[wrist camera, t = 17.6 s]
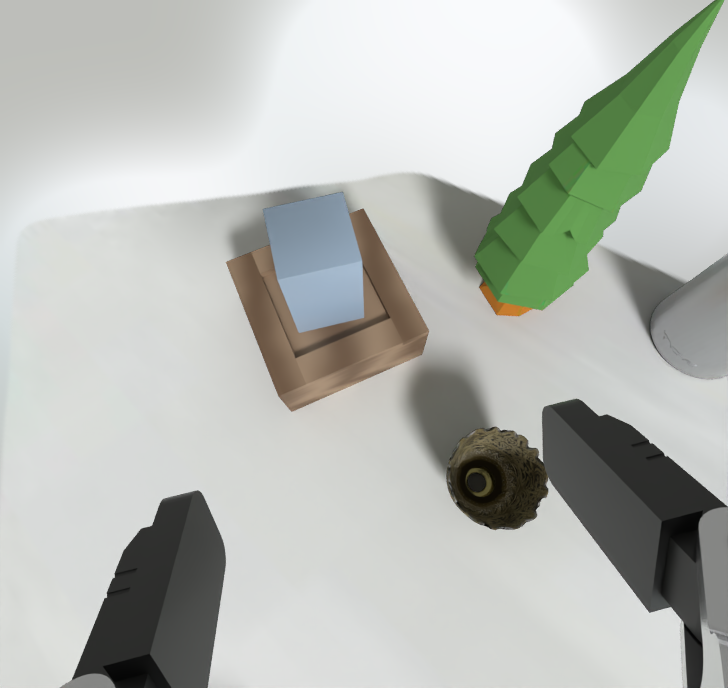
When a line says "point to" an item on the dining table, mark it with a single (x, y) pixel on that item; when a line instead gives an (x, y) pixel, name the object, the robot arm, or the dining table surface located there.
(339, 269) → the blue-grey square-topped block
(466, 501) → the cup
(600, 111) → the decorative tree
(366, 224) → the square wooden tray
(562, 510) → the dining table surface
